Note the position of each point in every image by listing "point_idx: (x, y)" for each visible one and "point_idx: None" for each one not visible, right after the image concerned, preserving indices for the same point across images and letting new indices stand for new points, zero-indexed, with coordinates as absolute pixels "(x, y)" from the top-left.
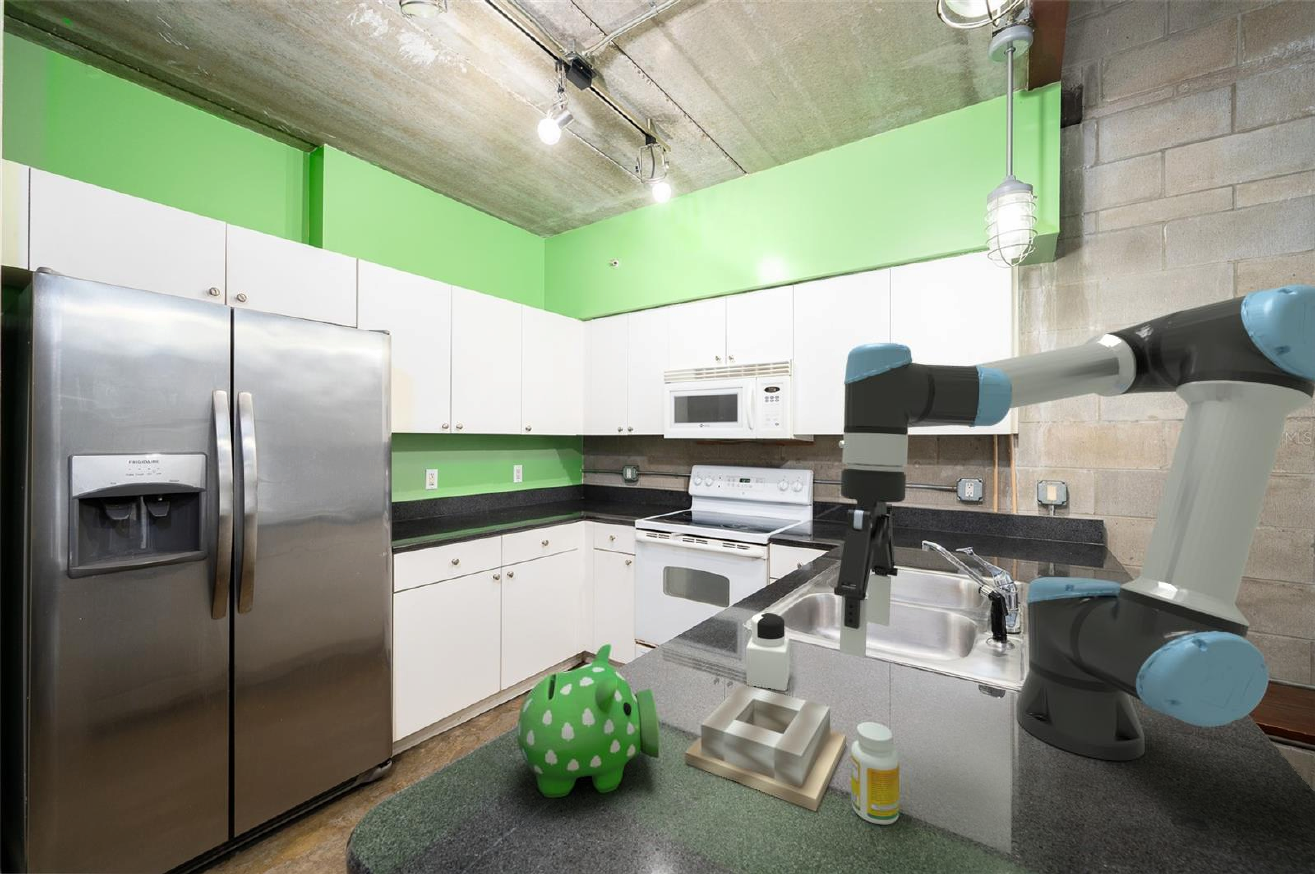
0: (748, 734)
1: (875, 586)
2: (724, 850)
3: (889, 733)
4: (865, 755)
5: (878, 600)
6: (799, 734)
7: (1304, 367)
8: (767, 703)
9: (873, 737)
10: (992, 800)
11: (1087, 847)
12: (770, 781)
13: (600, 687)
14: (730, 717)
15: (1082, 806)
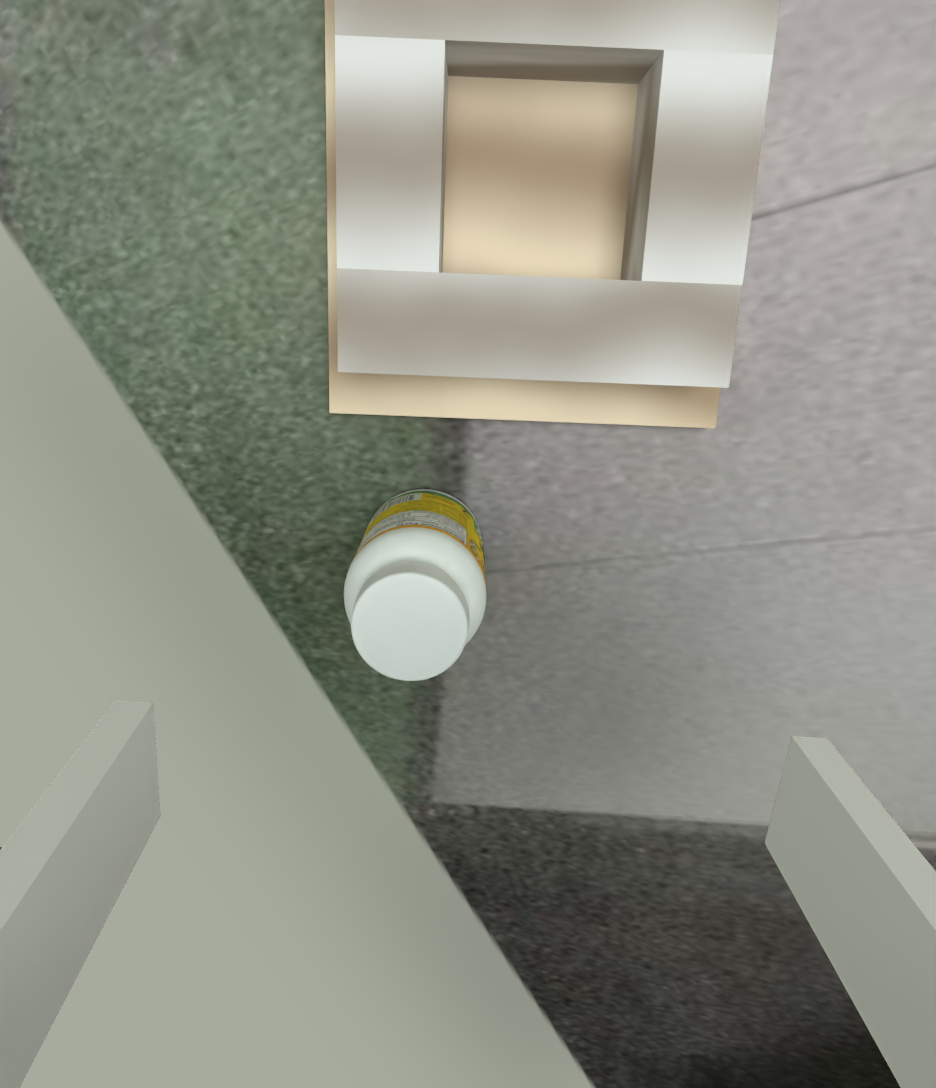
0: (366, 144)
1: (916, 977)
2: (58, 227)
3: (416, 672)
4: (355, 586)
5: (848, 908)
6: (467, 330)
7: None
8: (656, 128)
9: (361, 631)
10: (606, 781)
11: (528, 920)
12: (334, 265)
13: None
14: (451, 14)
15: (674, 933)
